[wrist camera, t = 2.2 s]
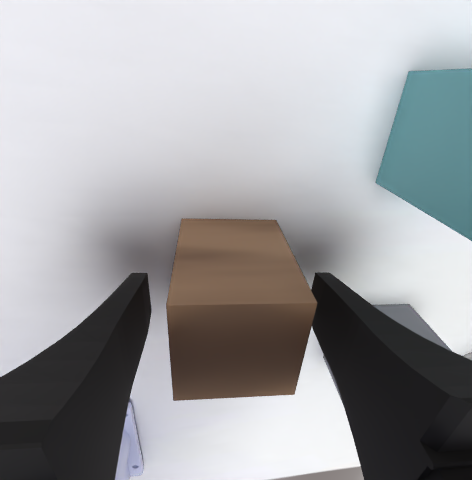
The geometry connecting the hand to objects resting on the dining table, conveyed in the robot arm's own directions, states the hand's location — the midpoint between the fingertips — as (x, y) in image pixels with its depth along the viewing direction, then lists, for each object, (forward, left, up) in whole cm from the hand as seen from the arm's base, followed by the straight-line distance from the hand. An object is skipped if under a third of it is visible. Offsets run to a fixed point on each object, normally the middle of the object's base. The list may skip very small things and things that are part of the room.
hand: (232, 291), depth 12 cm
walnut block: (0, 0, -3) cm, 3 cm away
